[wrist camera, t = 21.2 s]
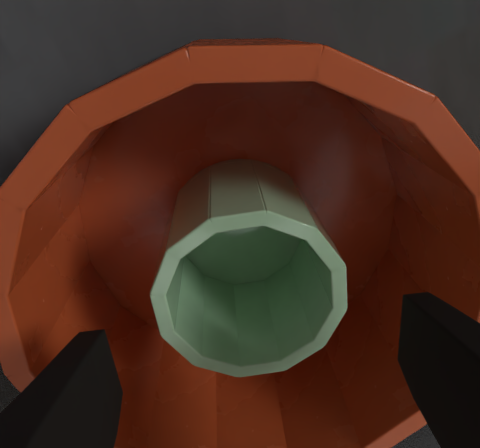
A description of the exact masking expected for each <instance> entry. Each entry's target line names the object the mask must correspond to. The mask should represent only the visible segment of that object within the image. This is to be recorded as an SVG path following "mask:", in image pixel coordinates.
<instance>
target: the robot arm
mask: <svg viewBox="0 0 480 448" xmlns="http://www.w3.org/2000/svg"><path fill="white" fill-rule="evenodd" d="M397 360H398V363H399V365H400V368H401V370H402V373H403V375H404V378H405V380H406V382H407V385H408V387H409V389H410V392H411V394H412V396H413V399H414V401H415V402H416V404H417V406H418V408H419V410H420V411H421V413H422V415H423V417H424V419H425V420H426V422H427V424H428V426H429V427H430V429H431V431H432V433H433V435H434V436H435V438H436V440H437V442H438V443H439V445H440V447H441V448H480V323H479V322H477V321H475V320H474V319H472V318H471V317H469V316H467V315H466V314H464V313H463V312H461V311H459V310H458V309H456V308H455V307H453V306H451V305H450V304H448V303H446V302H445V301H443V300H441V299H440V298H438V297H436V296H435V295H433V294H431V293H429V292H422V293H413V294H405V295H403V299H402V311H401V323H400V335H399V347H398V359H397ZM122 396H123V390H122V387H121V384H120V380H119V377H118V373H117V370H116V367H115V363H114V360H113V356H112V353H111V350H110V346H109V343H108V339H107V336H106V333H105V329H101V330H93V331H84V332H79V333H78V334H77V335H76V336H75V337H74V338H73V339H72V340H71V341H70V342H69V343H68V344H67V345H66V346H65V347H64V348H63V349H62V350H61V351H60V352H59V353H58V354H57V356H56V357H55V358H54V359H53V360H52V361H51V362H50V363H49V364H48V365H47V366H46V367H45V368H44V369H43V370H42V371H41V373H40V374H39V375H38V376H37V377H36V378H35V379H34V380H33V381H32V382H31V383H30V384H29V385H28V386H27V387H26V388H25V389H24V390H23V391H22V392H21V393H20V394H19V395H18V396H17V397H16V398H15V399H14V400H13V401H12V402H11V403H10V404H9V405H8V406H7V407H6V408H5V409H4V410H3V411H2V412H1V413H0V448H114V445H115V441H116V437H117V432H118V425H119V419H120V412H121V404H122Z"/></svg>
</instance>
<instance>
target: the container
mask: <svg viewBox="0 0 480 448" xmlns="http://www.w3.org/2000/svg"><path fill="white" fill-rule="evenodd" d="M150 300H151V303H152V307H153V310H154V314H155V318H156V321H157V325H158V329H159V332H160V335H161V337H162V338H163V339H164V340H165V341H166V342H167V343H169V344H170V345H171V346H172V347H173V348H174V349H175V350H176V351H178V352H179V353H180V354H181V355H182V356H183V357H184V358H185V359H187V360H188V361H189V362H190V363H191V364H192V365H194V366H196V367H200V368H204V369H207V370H211V371H215V372H219V373H223V374H226V375H230V376H234V377H247V376H254V375H261V374H267V373H274V372H281V371H285V370H287V369H289V368H291V367H292V366H294V365H296V364H297V363H299V362H301V361H302V360H304V359H305V358H307V357H309V356H310V355H312V354H314V353H315V352H317V351H318V350H320V349H322V348H323V347H324V346H325V345H326V344H327V342H328V340H329V339H330V337H331V335H332V334H333V332H334V331H335V329H336V327H337V326H338V324H339V322H340V321H341V319H342V317H343V316H344V314H345V313H346V311H347V308H348V302H347V270H346V265H345V262H344V261H343V259H342V257H341V255H340V254H339V252H338V250H337V248H336V246H335V245H334V243H333V241H332V239H331V238H330V236H329V234H328V232H327V230H326V229H325V227H324V225H323V223H322V222H321V220H320V218H319V216H318V215H317V213H316V211H315V209H314V207H313V206H312V204H311V202H310V201H309V200H308V198H307V197H306V196H305V194H304V193H303V192H302V190H301V188H300V187H299V185H298V184H297V183H296V182H295V181H294V180H293V179H292V177H291V176H290V175H289V174H287V173H285V172H284V171H282V170H280V169H279V168H277V167H275V166H273V165H271V164H268V163H265V162H262V161H258V160H252V159H232V160H226V161H222V162H218V163H216V164H213V165H210V166H208V167H206V168H204V169H203V170H201V171H200V172H198V173H197V174H195V175H194V176H193V177H192V178H191V179H189V180H188V181H187V182H186V184H185V185H184V186H183V187H182V188H181V189H180V190H179V192H178V193H177V196H176V199H175V201H174V203H173V206H172V209H171V212H170V215H169V218H168V220H167V223H166V227H165V231H164V235H163V239H162V243H161V248H160V252H159V256H158V260H157V264H156V268H155V272H154V276H153V281H152V285H151V289H150Z"/></svg>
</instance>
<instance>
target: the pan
mask: <svg viewBox="0 0 480 448" xmlns="http://www.w3.org/2000/svg"><path fill="white" fill-rule="evenodd" d="M232 159H252V160H258V161H262V162H265V163H268V164H271V165H273V166H275V167H277V168H279V169H280V170H282V171H284V172H285V173H287V174H289V175H290V176H291V177H292V179H293V180H294V181H295V182H296V183H297V184H298V185H299V187H300V188H301V190H302V192H303V193H304V194H305V196H306V197H307V198H308V200H309V201H310V202H311V204H312V206H313V207H314V209H315V211H316V213H317V215H318V216H319V218H320V220H321V222H322V223H323V225H324V227H325V229H326V230H327V232H328V234H329V236H330V238H331V239H332V241H333V243H334V245H335V246H336V248H337V250H338V252H339V254H340V255H341V257H342V259H343V261H344V262H345V265H346V270H347V302H348V308H347V311H346V313H345V314H344V316H343V317H342V319H341V321H340V322H339V324H338V326H337V327H336V329H335V331H334V332H333V334H332V335H331V337H330V339H329V340H328V342H327V344H326V345H325V346H324V347H323V348H322V349H320V350H318V351H317V352H315V353H314V354H312V355H310V356H309V357H307V358H305V359H304V360H302V361H301V362H299V363H297V364H296V365H294V366H292V367H291V368H289V369H287V370H285V371H281V372H274V373H267V374H261V375H254V376H247V377H234V376H230V375H226V374H223V373H219V372H215V371H211V370H207V369H204V368H200V367H196V366H194V365H192V364H191V363H190V362H189V361H188V360H187V359H185V358H184V357H183V356H182V355H181V354H180V353H179V352H178V351H176V350H175V349H174V348H173V347H172V346H171V345H170V344H169V343H167V342H166V341H165V340H164V339H163V338H162V337H161V335H160V332H159V329H158V325H157V321H156V318H155V314H154V310H153V307H152V303H151V300H150V289H151V285H152V281H153V276H154V272H155V268H156V264H157V260H158V256H159V252H160V248H161V243H162V239H163V235H164V231H165V227H166V223H167V220H168V218H169V215H170V212H171V209H172V206H173V203H174V201H175V199H176V196H177V193H178V192H179V190H180V189H181V188H182V187H183V186H184V185H185V184H186V182H187V181H188V180H189V179H191V178H192V177H193V176H194V175H195V174H197V173H198V172H200V171H201V170H203V169H204V168H206V167H208V166H210V165H213V164H216V163H218V162H222V161H226V160H232ZM422 292H429V293H431V294H433V295H435V296H436V297H438V298H440V299H441V300H443V301H445V302H446V303H448V304H450V305H451V306H453V307H455V308H456V309H458V310H459V311H461V312H463V313H464V314H466V315H467V316H469V317H471V318H472V319H474V320H475V321H477V322H479V323H480V150H479V149H478V148H477V147H476V145H475V144H474V143H473V141H472V140H471V139H470V138H469V136H468V135H467V134H466V132H465V131H464V130H463V129H462V127H461V126H460V125H459V123H458V122H457V121H456V120H455V118H454V117H453V116H452V114H451V113H450V112H449V111H448V109H447V108H446V107H445V105H444V104H443V103H442V102H441V100H440V99H439V98H438V97H437V96H435V95H434V94H433V93H430V92H428V91H426V90H424V89H422V88H419V87H417V86H415V85H413V84H411V83H408V82H406V81H404V80H402V79H400V78H397V77H395V76H393V75H391V74H389V73H386V72H384V71H382V70H380V69H377V68H375V67H373V66H371V65H369V64H366V63H364V62H362V61H360V60H358V59H355V58H353V57H351V56H349V55H347V54H344V53H342V52H340V51H338V50H336V49H333V48H331V47H329V46H327V45H321V44H317V43H309V42H302V41H294V40H287V39H280V38H264V39H199V40H197V41H193V42H191V43H189V44H187V45H185V46H182V47H180V48H178V49H176V50H174V51H172V52H170V53H168V54H166V55H164V56H161V57H159V58H157V59H155V60H153V61H151V62H149V63H147V64H145V65H143V66H140V67H138V68H136V69H134V70H132V71H130V72H128V73H126V74H124V75H122V76H120V77H118V78H116V79H114V80H112V81H110V82H108V83H106V84H104V85H102V86H100V87H98V88H96V89H94V90H92V91H90V92H88V93H86V94H84V95H82V96H80V97H78V98H76V99H74V100H72V101H70V103H69V104H67V105H65V106H64V107H63V108H62V110H61V111H60V112H59V113H58V115H57V116H56V117H55V118H54V120H53V121H52V122H51V123H50V125H49V126H48V127H47V129H46V130H45V131H44V132H43V134H42V135H41V136H40V137H39V139H38V140H37V141H36V142H35V144H34V145H33V146H32V147H31V149H30V150H29V151H28V153H27V154H26V155H25V156H24V158H23V159H22V160H21V161H20V163H19V164H18V165H17V166H16V168H15V169H14V170H13V171H12V173H11V174H10V175H9V177H8V178H7V179H6V180H5V182H4V183H3V184H2V185H1V187H0V363H1V366H2V369H3V373H4V375H5V376H7V379H8V380H9V381H10V382H11V383H12V384H13V385H14V386H15V387H16V388H17V389H18V391H19V392H20V393H21V392H22V391H23V390H24V389H25V388H26V387H27V386H28V385H29V384H30V383H31V382H32V381H33V380H34V379H35V378H36V377H37V376H38V375H39V374H40V373H41V371H42V370H43V369H44V368H45V367H46V366H47V365H48V364H49V363H50V362H51V361H52V360H53V359H54V358H55V357H56V356H57V354H58V353H59V352H60V351H61V350H62V349H63V348H64V347H65V346H66V345H67V344H68V343H69V342H70V341H71V340H72V339H73V338H74V337H75V336H76V335H77V334H78V333H79V332H84V331H93V330H101V329H105V333H106V336H107V339H108V343H109V346H110V350H111V353H112V356H113V360H114V363H115V367H116V370H117V373H118V377H119V380H120V384H121V387H122V390H123V396H122V404H121V412H120V419H119V425H118V432H117V437H116V441H115V445H114V448H392V447H393V446H395V445H396V444H398V443H399V442H401V441H402V440H404V439H405V438H407V437H408V436H410V435H411V434H413V433H414V432H416V431H417V430H419V429H420V428H422V427H423V426H425V425H426V424H427V422H426V420H425V419H424V417H423V415H422V413H421V411H420V410H419V408H418V406H417V404H416V402H415V401H414V399H413V396H412V394H411V392H410V389H409V387H408V385H407V382H406V380H405V378H404V375H403V373H402V370H401V368H400V365H399V363H398V360H397V359H398V347H399V335H400V323H401V311H402V299H403V295H405V294H413V293H422Z"/></svg>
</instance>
